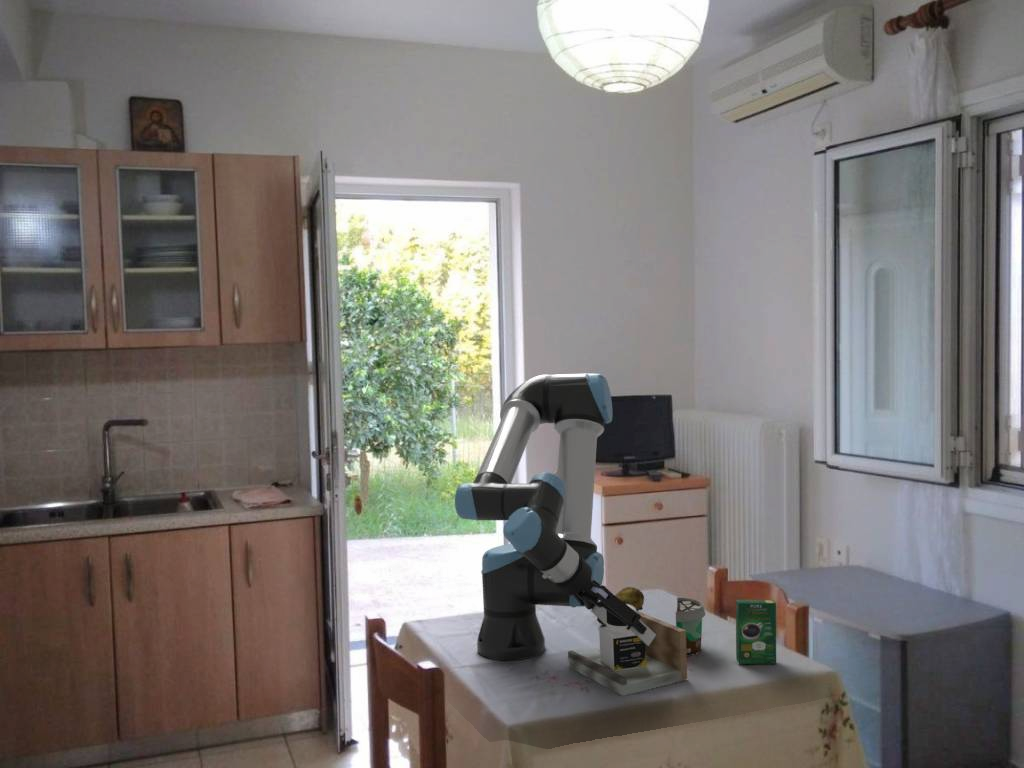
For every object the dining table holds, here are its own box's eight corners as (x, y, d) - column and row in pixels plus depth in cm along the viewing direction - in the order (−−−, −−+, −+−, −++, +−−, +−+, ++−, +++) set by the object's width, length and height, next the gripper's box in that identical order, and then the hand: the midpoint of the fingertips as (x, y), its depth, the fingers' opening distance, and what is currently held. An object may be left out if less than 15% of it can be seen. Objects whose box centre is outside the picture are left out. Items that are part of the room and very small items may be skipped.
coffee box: (775, 660, 196) (773, 598, 196) (778, 664, 193) (776, 601, 193) (736, 660, 197) (734, 598, 196) (738, 665, 194) (736, 602, 193)
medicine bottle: (614, 672, 187) (612, 612, 186) (599, 661, 194) (597, 603, 193) (646, 667, 189) (644, 608, 189) (631, 656, 196) (629, 599, 195)
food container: (706, 659, 198) (705, 613, 198) (676, 658, 199) (675, 612, 199) (706, 641, 210) (705, 597, 210) (678, 640, 212) (677, 596, 211)
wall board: (568, 666, 197) (566, 619, 197) (629, 652, 204) (627, 607, 204) (622, 695, 180) (621, 644, 179) (687, 679, 187) (685, 630, 186)
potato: (589, 620, 229) (588, 588, 229) (638, 614, 233) (637, 582, 232) (600, 630, 221) (599, 596, 221) (651, 624, 225) (650, 591, 224)
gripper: (525, 572, 194) (590, 632, 202) (588, 597, 173) (658, 663, 180) (546, 543, 197) (609, 603, 204) (611, 565, 175) (679, 631, 183)
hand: (632, 632), depth 192 cm, fingers open, 12 cm apart
